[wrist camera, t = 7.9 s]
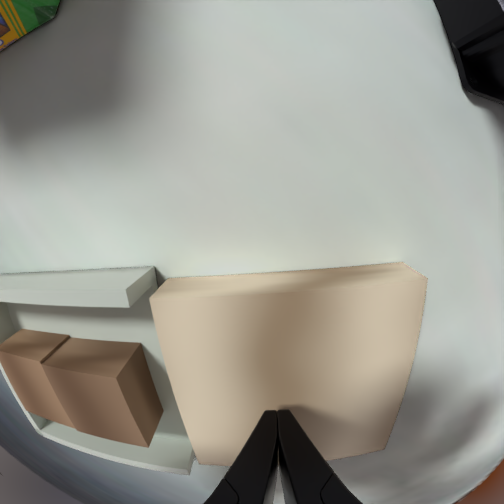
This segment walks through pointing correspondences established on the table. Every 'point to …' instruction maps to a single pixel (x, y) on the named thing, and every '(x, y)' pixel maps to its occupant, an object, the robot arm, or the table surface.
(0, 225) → the table surface
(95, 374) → the tile
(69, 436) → the tray
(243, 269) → the table surface
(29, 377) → the tile
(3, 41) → the chalk box
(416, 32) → the table surface
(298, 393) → the beige square slab
